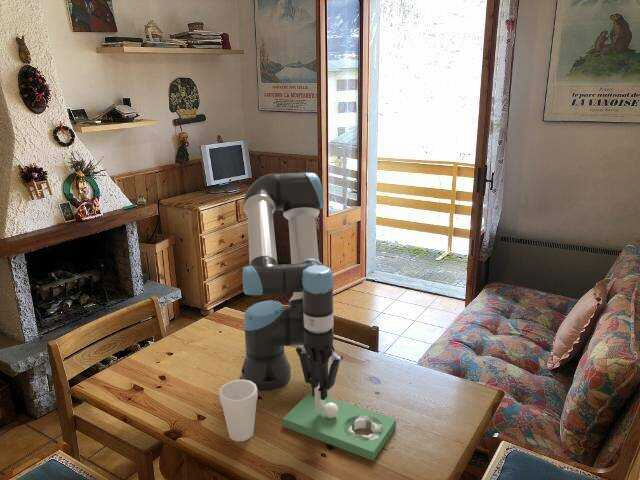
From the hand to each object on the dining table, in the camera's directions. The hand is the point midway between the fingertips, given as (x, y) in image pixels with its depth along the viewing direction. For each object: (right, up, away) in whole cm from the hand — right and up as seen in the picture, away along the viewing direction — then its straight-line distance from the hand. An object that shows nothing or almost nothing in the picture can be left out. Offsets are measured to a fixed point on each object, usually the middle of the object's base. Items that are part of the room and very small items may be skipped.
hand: (319, 408), depth 138 cm
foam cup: (-20, -6, -3) cm, 21 cm away
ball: (+3, 0, -1) cm, 3 cm away
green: (+5, -5, -1) cm, 7 cm away
